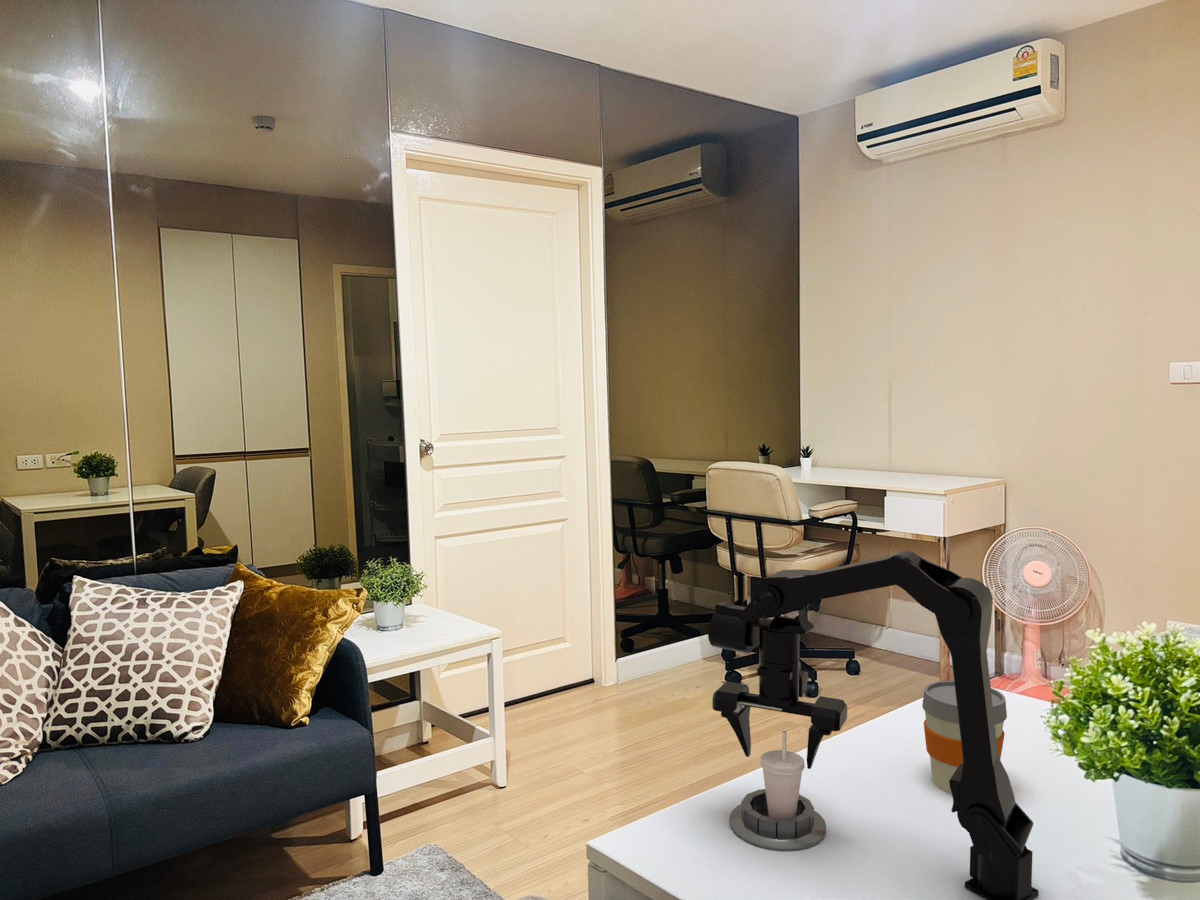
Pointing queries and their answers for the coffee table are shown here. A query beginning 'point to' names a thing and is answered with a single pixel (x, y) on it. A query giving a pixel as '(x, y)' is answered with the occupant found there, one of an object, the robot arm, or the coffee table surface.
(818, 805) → the coffee table surface
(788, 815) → the smoothie
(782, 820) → the mount
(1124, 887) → the coffee table surface
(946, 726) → the reusable coffee cup
